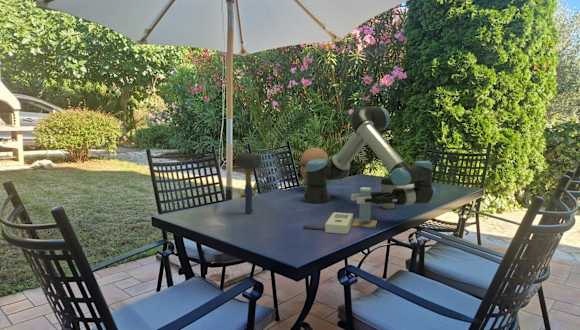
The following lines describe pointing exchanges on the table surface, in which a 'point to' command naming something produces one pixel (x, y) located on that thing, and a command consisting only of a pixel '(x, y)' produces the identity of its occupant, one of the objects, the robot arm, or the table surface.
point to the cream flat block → (336, 223)
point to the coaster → (365, 223)
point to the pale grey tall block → (365, 205)
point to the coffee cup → (388, 190)
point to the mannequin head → (311, 158)
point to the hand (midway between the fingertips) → (354, 198)
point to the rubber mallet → (248, 174)
